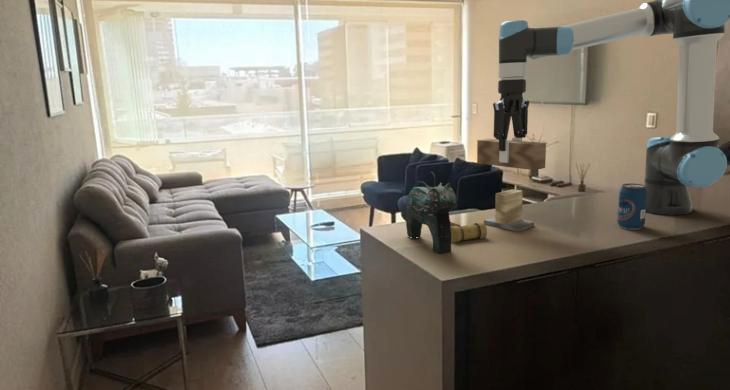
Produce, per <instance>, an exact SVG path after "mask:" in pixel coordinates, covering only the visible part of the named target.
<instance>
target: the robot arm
mask: <svg viewBox="0 0 730 390" xmlns="http://www.w3.org/2000/svg"><path fill="white" fill-rule="evenodd" d="M729 20H730V0H653V1H649V2H645V3H644V2H643V3H641V4H640V6H638V8H634V9H630V10H626V11H620V12H617V13H612V14H607V15H605V16H604V15H603V16H600V17H595V18H590V19H587V20H583V21H580V22H579V21H578V22H574V23H570V24H566V25H561V26H550V27H547V26H546V27H529V25H528V21H527V20H523V19H522V20H518V19H517V20H507V21H503V22H502V23H501V24H500V27H499V33H498V78H499V79H500V80H498V82H497V92H498V94H500V98H499V101H498V102H493V104H492V106H493V112H494V113H493V139H494V138H495V139H499V162H503V163H509V140H510V139H508V135H509V130H510V125H511V122H512V130H513V136H514V137H511V140H513V141H523V139H525V138H526V137H527V135H528V124H529V123H528V120H529V118H528V116H529V115H528V114H529V105H530V101H529V100H525V99H524V98H523V94H525V92H527V80H526V79H525V78H526V77H527V71H528V70H527V66H528V65H527V61H528V58H529V59H533V60H536V59H540V58H545V57H549V56H551V57H552V56H558V57H560V56H565V55H569V54H570V53H571V52H572V51H574V50H578V49H583V48H587V47H592V46H593V47H594V46H596V45H602V44H606V43H611V42H615V41H619V40H625V39H628V38H629V39H630V38H632V37H637V36H643V37H644V38H649V37H653V36H658V35H660V36H661V35H671V34H672V35H673V36H672V40H673V41H674V43H676V44H677V45H678V75H677V76H678V78H677V101H676V102H677V107H676V109H677V110H676V111H677V112H676V132H675V133H674V134H673V135H672V136H658V137H656V136H655V137H650V138H649V139H648V141H647V146H646V149H645V151H646V154H645V156H646V157H645V158H646V159H645V170H644V171H645V173H644V183H643V185H645V189H646V191H647V202H646V213H650V214H655V215H656V214H657V215H666V214H667V215H669V216H672V215H673V216H674V215H675V216H679V215H687V214H690V213H692V210H693V202H692V199H691V195H690V191H689V188H688V187H694V188H704V187H706V188H707V187H709V186H711V185H713V184H715V183H716V182H718V181H719V180H720V179H721V178H722V177H723V176H724V174H725V173H726V170H727V165H728V159H727V156H726V154H725V153H724V151H722V150H721V149H720V148H719V147H720V146H719V145H720V136H719V135H717V134H716V133H715V132H714V114H715V113H714V112H715V93H716V91H715V89H716V72H717V71H716V69H717V52H718V51H717V47H718V42H719V40H720V39H721V38H722V37H723V36H724V35H725V28H726V23H727V22H728V21H729Z"/></svg>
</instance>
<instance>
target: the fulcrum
mask: <svg viewBox="0 0 730 390" xmlns="http://www.w3.org/2000/svg"><path fill="white" fill-rule="evenodd" d="M494 205H495V212H494V213H495V216H493V217H490V218H486V219H483V223H484V224H485V226H486V225H487V226H491V227H494V228H500V229H504V230H508V231H513V232H520V231H524V230H526V229H530V228H532V227H535V222H534V221H531V220H525V219H523V190H520V189H514V188H513V189H512V188H511V189H507V190H504V191H500V192H496V193H495V204H494Z"/></svg>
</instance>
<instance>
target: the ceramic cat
mask: <svg viewBox="0 0 730 390" xmlns="http://www.w3.org/2000/svg"><path fill="white" fill-rule="evenodd" d="M431 175H432V176H433V181H434V184H433V187H432V186H430V185H428V184H426V182H424V181H420V180H419V181H416V182H415V183H414V184H413V186H412V188H411V190H410V191H409V193H408V195H407V198H406V209H405V225H406V226H405V227H406V234H407V235H408V236H409V237H412V238H416V237H420V238H421V235H422V229H423V225H426V226H427V228H428V230H429V232H430V234H431V239H432V251H433V250H434V252H437V253H438V254H447V253H451V252H452V242H451V236H452V235H451V226H450V222H451V218H450V211H452V210H454V209H455V208H456V204H457V201H456V200H457V196H456V193H455V191H454V189H453V188H452V187H451V182H448V183H447V184H446V185H444V186H443V183H442V182H440V183H439V184H438V185H437V186H436V176H435V173H434V171H430V172H429V173H428V177H429V176H431ZM418 184H423V185H424V186H417V185H418ZM416 186H417V187H416ZM407 235H406V236H407ZM408 236H407V237H408ZM409 237H408V238H409Z"/></svg>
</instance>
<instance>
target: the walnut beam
mask: <svg viewBox="0 0 730 390" xmlns="http://www.w3.org/2000/svg"><path fill="white" fill-rule="evenodd" d="M508 140H509V163H503V162H499V139H496V138H495V139H494V138H484V139H483V138H482V139H478V140H477V141H476V142H477V143H476V145H477V146H476V147H477V148H476V153H477V156H476V158H477V159H476V163H477V164H479V165H486V166H487V165H488V166H496V167H503V168H505V167H506V168H514V169H521V170H522V169H523V170H530V171H536V170H542V169H546V158H547V157H546V155H547V142H537V141H528V140H527V141H525V140H522V141H513V140H512V139H511V140H510V139H508Z"/></svg>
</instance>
